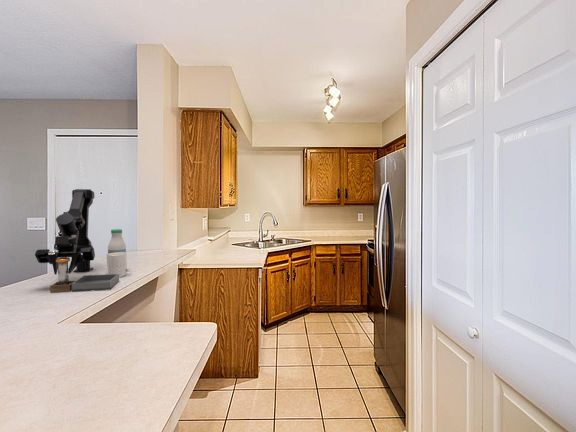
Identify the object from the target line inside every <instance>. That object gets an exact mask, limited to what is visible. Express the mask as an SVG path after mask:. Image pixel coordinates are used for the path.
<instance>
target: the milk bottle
mask: <svg viewBox="0 0 576 432" xmlns="http://www.w3.org/2000/svg"><path fill="white" fill-rule="evenodd" d="M110 235H111V238H110V241H109V242H108V245H107V254H109V253H116V252H124V253H126V254H127V247H126V246H127V245H126V242H125V240H124V238H123V236H122V235H123V229H122V228H115V229H114V228H113V229H111V230H110ZM127 269H128V268H127V264H126V271H127Z"/></svg>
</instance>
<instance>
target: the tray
mask: <svg viewBox="0 0 576 432" xmlns="http://www.w3.org/2000/svg"><path fill="white" fill-rule="evenodd" d="M74 281H75V282H74V283H72V291H71V292H72V293H74V292H89V291H90V292H91V290H95V291H106V290H105V289H110V290H112V288H114V286H116V285H117V284H118V282H120V277H119V274H90V275H89V274H87V275H86V274H85V275H82V276H80V278H78V279H77V280H74Z"/></svg>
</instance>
